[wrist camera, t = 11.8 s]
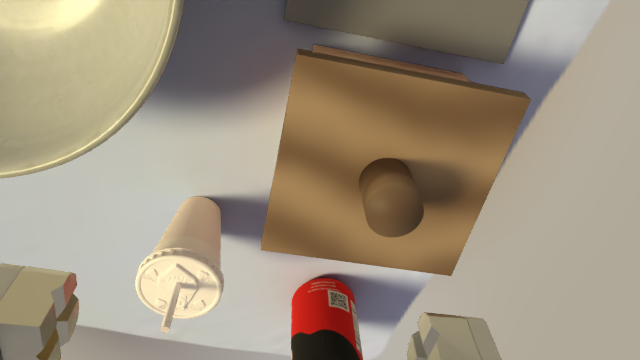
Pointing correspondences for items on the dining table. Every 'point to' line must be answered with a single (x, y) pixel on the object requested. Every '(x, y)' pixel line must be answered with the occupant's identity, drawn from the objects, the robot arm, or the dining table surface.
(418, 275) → the dining table surface
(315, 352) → the beverage can
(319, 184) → the walnut lid
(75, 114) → the decorative bowl
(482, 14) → the rubber mat
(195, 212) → the smoothie
